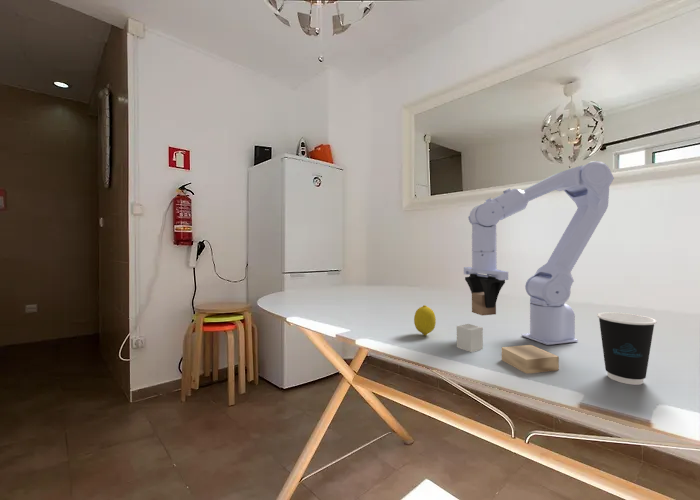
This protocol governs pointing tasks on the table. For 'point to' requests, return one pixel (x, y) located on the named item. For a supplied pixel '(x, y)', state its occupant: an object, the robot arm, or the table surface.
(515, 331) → the table surface
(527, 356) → the oak slab
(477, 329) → the grey block
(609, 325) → the dixie cup
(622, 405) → the table surface
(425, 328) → the lemon
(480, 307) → the walnut block
